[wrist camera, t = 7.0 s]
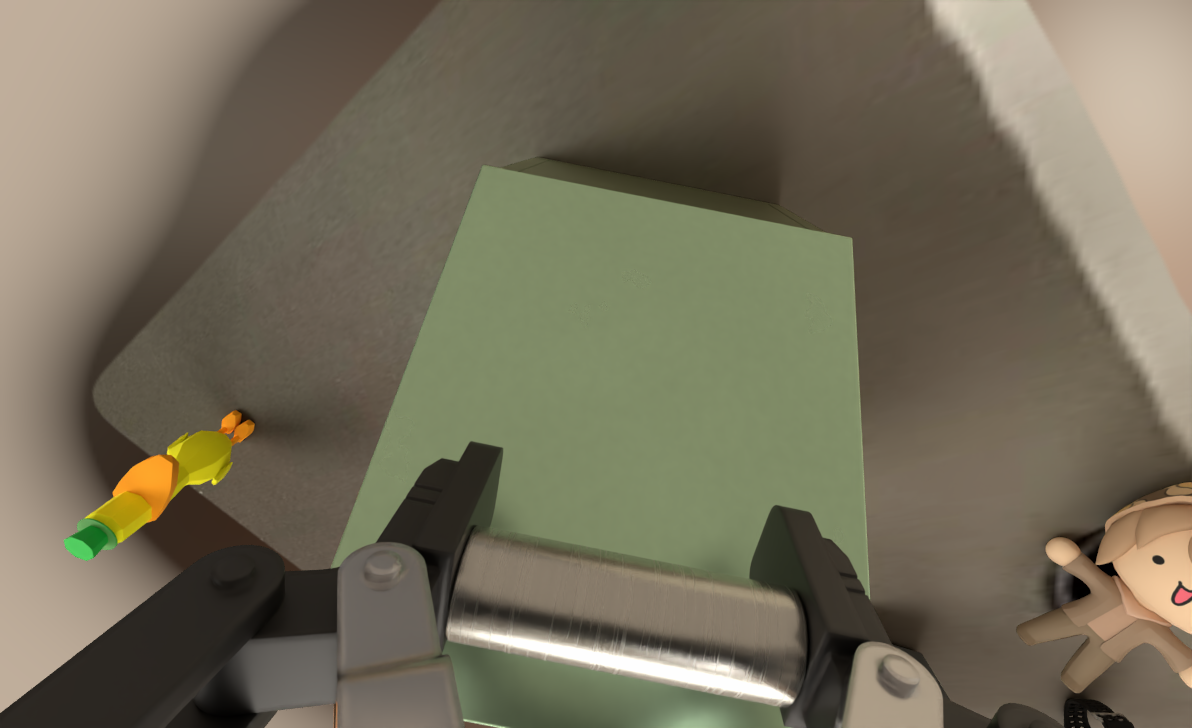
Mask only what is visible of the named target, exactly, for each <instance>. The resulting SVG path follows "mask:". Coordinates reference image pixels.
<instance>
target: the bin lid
mask: <svg viewBox="0 0 1192 728" xmlns="http://www.w3.org/2000/svg"><path fill="white" fill-rule="evenodd" d="M470 441H473V442H478V443H483V444H488V445H493V446H498V447H502V448H503V459H502V465H501V472H500V478H499V485H498V491H497V498H496V504H495V509H494V514H493V518H492V522H491V526H490V527H486V526H481V525H477V526H475V527H474V528H473V529H472V531H471V533H470V535H469V537H468V539H467V541H466V544H465V547H464V549H463V552H462V555H461V558H460V561H459V564H458V568H457V571H456V575H455V578H454V582H453V586H452V590H451V595H450V599H449V604H448V610H447V616H446V624H445V636H446V640H447V641H446V644H445V647H444V649H443V652H442V655H445V654H448V655H449V656H450V658H451V660H452V664H453V668H454V673H455V679H456V684H457V689H458V694H459V700H460V705H461V710H462V715H463V721H466V722H471V723H476V724H481V725H486V726H491V727H496V728H791V727H786V726H784V723H783V719H782V715H781V711H780V707H781V708H786V707H789V706H791V705H792V704H793V703H794V702H795V701H796V699H797V697H798V696H799V693H800V691H801V688H802V685H803V682H804V678H805V673H806V667H807V659H808V629H807V621H806V615H805V611H804V607H803V604H802V601H801V599H800V597H799V595H798V594H797V592H796V591H795V590H793V589H792V588H790V587H788V586H783V585H778V584H773V583H768V582H763V581H758V580H753V579H749V573H750V566H751V561H752V558H753V555H754V552H755V550H756V547H757V544H758V542H759V539H760V536H761V534H762V531H763V528H764V526H765V523H766V520H767V518H768V515H769V513H770V511H771V509H772V507H773V506H775V505H779V506H784V507H789V508H794V509H798V510H803V511H808V512H810V513H811V514H812V516H813V518H814V520H815V522H816V524H817V526H818V529H819V531H820V533H821V535H822V537H823V538H827V539H831V540H832V541H833V542H834V543H835V544H836V545H837V546H838V547H839V548H840V549H841V550H842V551H843V552H844V553H845V554H846V555H847V556H848V558H849V560H850V562H851V564H852V566H853V568H854V570H855V572H856V574H857V579H859V580H860V582H861V584H862V586H863V588H864V589H865V595H868V597H869V599H870V586H869V566H868V546H867V526H866V506H865V485H864V465H863V445H862V425H861V405H860V385H859V364H858V344H857V324H856V304H855V284H854V263H853V243H852V238H850V237H845V236H840V235H835V234H830V233H825V232H820V231H815V230H810V229H805V228H800V227H795V226H790V225H785V224H780V223H775V222H770V221H765V220H760V219H755V218H750V217H745V216H740V215H735V214H730V213H725V212H720V211H715V210H710V209H705V208H700V207H694V206H689V205H684V204H679V203H674V202H669V201H664V200H659V199H654V198H649V197H644V196H639V195H634V194H629V193H624V192H619V191H614V190H609V189H604V188H599V187H594V186H589V185H584V184H579V183H574V182H569V181H564V180H559V179H554V178H549V177H544V176H539V175H533V174H528V173H523V172H518V171H513V170H508V169H503V168H498V167H493V166H488V165H482V167H481V170H480V173H479V175H478V178H477V181H476V183H475V186H474V188H473V191H472V194H471V196H470V199H469V202H468V204H467V207H466V210H465V212H464V215H463V218H462V220H461V223H460V226H459V228H458V231H457V234H456V236H455V239H454V242H453V244H452V247H451V250H450V252H449V255H448V258H447V260H446V263H445V265H444V268H443V271H442V273H441V276H440V279H439V281H438V284H437V287H436V289H435V292H434V295H433V297H432V300H431V303H430V305H429V308H428V311H427V313H426V316H425V319H424V321H423V324H422V327H421V329H420V332H419V335H418V337H417V340H416V343H415V345H414V348H413V350H412V353H411V356H410V358H409V361H408V364H407V366H406V369H405V372H404V374H403V377H402V380H401V382H400V385H399V388H398V390H397V393H396V396H395V398H394V401H393V404H392V406H391V409H390V412H389V414H388V417H387V420H386V422H385V425H384V427H383V430H382V433H381V435H380V438H379V441H378V443H377V446H376V449H375V451H374V454H373V457H372V459H371V462H370V465H369V467H368V470H367V473H366V475H365V478H364V481H363V483H362V486H361V489H360V491H359V494H358V497H357V499H356V502H355V505H354V507H353V510H352V512H351V515H350V518H349V520H348V523H347V526H346V528H345V531H344V534H343V536H342V539H341V542H340V544H339V547H338V550H337V552H336V555H335V558H334V560H333V563H332V566H331V568H336V567H340V565H341V564H342V562H343V561H344V559H345V558H346V557H347V556H348V555H350V554H351V553H352V552H354V551H356V550H357V549H359V548H361V547H364V546H366V545H370V544H373V543H376V541H377V540H378V538H379V537H380V535H381V534H382V532H383V531H384V529H385V528H386V526H387V525H388V523H389V522H390V520H391V518H392V517H393V515H394V514H395V512H396V511H397V509H398V508H399V506H400V505H401V503H402V502H403V500H404V499H406V496H407V494H408V493H409V491H410V489H411V488H412V486H413V487H414V483H415V482H416V480H417V479H418V477H419V476H420V474H421V473H422V471H423V470H424V469H425V468H426V467H428V466H429V465H431V464H433V463H434V462H436V461H438V460H439V459H441V458H444V459H449V460H454V461H459V460H460V458H461V457H462V455H463V453H464V451H465V449H466V448H467V446H468V444H469V443H470ZM331 568H330V569H331Z"/></svg>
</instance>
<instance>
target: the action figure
mask: <svg viewBox="0 0 1192 728" xmlns="http://www.w3.org/2000/svg"><path fill="white" fill-rule="evenodd" d="M1105 531H1106V533H1105V535H1104V537H1103V539H1102V541H1101V544H1100V547H1099V550H1098V555H1097V559H1096V565H1101V564H1106V563H1109V562H1111V561H1112V562H1113V565H1114V568H1115V570H1116V571H1117V573H1118V574H1119V576H1120V578H1121V579H1122V580H1121V579H1120V578H1119V577H1117V576H1112V577H1110V576H1109V575H1107V574H1105V573H1104V572H1103V571H1101V570H1100V569H1099V568H1098V567H1097V566H1096V565H1095V564H1094V563H1093V562H1092V561H1091V560H1090V559H1089V558H1088V557H1087V556H1086V555H1084V554H1083V553H1081V551H1080V549H1079V547H1078V546H1077V545H1076V544H1075V543H1074V542H1073V541H1071V540H1069V539H1067V538H1063V537H1057V538H1053V539H1051V540H1050V541H1049V542H1048V543H1047V545H1046V553H1047V555H1048V557H1049V558H1050V559H1051V560H1052V561H1054V562H1055V563H1057V564H1059V565H1061V566H1064V567H1063V568H1062V569H1064V570H1065V571H1067V572H1068V573H1070V574H1072V575H1074V576H1076V577H1078V578H1079V579H1081V580H1082V581H1083V582H1084V583H1086V584H1087V586H1088V587H1089V588H1090V590H1091V593H1090V594H1089V595H1087V596H1085V597H1083V598H1081V599H1079V600H1076V601H1072V602H1069V603H1066V604H1063V605H1062V607H1061V608H1058V609H1055V610H1053V611H1050V612H1048V613H1045V614H1043V615H1041V616H1039V617H1036V618H1034V619H1032V620H1029V621H1027V622H1024V623H1022V624H1020V625H1018V626H1017V629H1016V632H1017V634H1018V635H1019V637H1020V638H1021V639H1022V640H1023V641H1024V642H1025V643H1026V644H1027V645H1029V646H1031V645H1035V644H1039V643H1043V642H1048V641H1053V640H1058V639H1063V638H1068V637H1072V636H1076V635H1082V634H1084V635H1087V636H1088V638H1087V639H1086V641H1085V642H1084V643H1083V644H1082V645H1081V647H1080V648H1079V649H1078V650H1077V651H1076V653H1075V654H1074V655H1073V656H1072V658H1071V659H1070V660H1069V662H1068V663H1067V664H1066V666H1065V667H1064V669H1063V671H1062V673H1061V680H1062V682H1063V683H1064V684H1065V685H1066V686H1067V687H1068V688H1069V689H1070V690H1072V691H1073V692H1075V693H1080V692H1082V691H1083V690H1084V689H1085V688H1086V687H1087V686H1088V685H1089V684H1090V683H1091V682H1093V681H1094V680H1095V679H1096V678H1097V677H1099V676H1100V675H1101V674H1102V673H1103V672H1104V671H1106V670H1107V669H1108V668H1109V667H1110V666H1111V665H1112V664H1113V663H1114V662H1115V661H1116V662H1119V663H1120V662H1121V660H1122V659H1123V658H1124V657H1125V655H1126V654H1127V653H1128V652H1129V651H1130V650H1132V649H1133V648H1135V647H1137V646H1139V645H1141V644H1143V643H1150V644H1151V645H1153V646H1154V647H1155V648H1157V649H1158V650H1159V651H1160V652H1161V654H1162V655H1163V656H1164V658H1165V659H1166V661H1167V662H1168V664H1169V665H1170V667H1171V668H1172V670H1173V671H1174V672H1175V673H1179V675H1180V677H1181V679H1182V680H1183V681H1184V682H1185V683H1186V684H1187V685H1188V686H1189V687H1190V688H1192V650H1191V649H1190V648H1189V647H1187V646H1186V645H1185V644H1184V643H1183V642H1181V641H1180V640H1179V639H1178V638H1177V637H1176V636H1175V635H1174V634H1173V633H1172V631H1171V630H1170V629H1169V628H1170V627H1171V626H1172V624H1173V625H1175V626H1177V627H1178V628H1180V629H1182V630H1184V631H1186V632H1188V633H1189V634H1192V482H1187V483H1181V484H1177V485H1173V486H1170V487H1167V488H1164V489H1161V490H1159V491H1156V492H1153V493H1151V494H1148V495H1145V496H1143V497H1142V498H1140V499H1138V500H1136V501H1134V502H1133V503H1131V504H1129V505H1128V506H1126V507H1124V508H1123V509H1121V510H1120V511H1119V512H1117V513H1116V514H1115V515H1113V516H1112V517H1111V518H1109V519H1108V520H1107V521H1106V524H1105Z"/></svg>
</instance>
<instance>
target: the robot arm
mask: <svg viewBox="0 0 1192 728" xmlns="http://www.w3.org/2000/svg"><path fill="white" fill-rule="evenodd" d="M502 459H503V448H502V447H498V446H493V445H488V444H483V443H478V442H473V441H470V443H469V444H468V446H467V448H466V449H465V451H464V453H463V455H462V457H461V458H460V460H459V461H454V460H449V459H444V458H441V459H439V460H438V461H436V462H434V463H433V464H431V465H429V466H428V467H426V468H425V469H424V470H423V471H422V473H421V474H420V476H419V477H418V479H417V480H416V482H415V483H414V487H413V486H412V488H411V489H410V491H409V493H408V494H407V496H406V499H404V500H403V502H402V503H401V505H400V506H399V508H398V509H397V511H396V512H395V514H394V515H393V517H392V518H391V520H390V522H389V523H388V525H387V526H386V528H385V529H384V531H383V532H382V534H381V535H380V537H379V538H378V540H377V541H376V543H373V544H370V545H366V546H364V547H361V548H359V549H357V550H356V551H354V552H352V553H351V554H350V555H348V556H347V557H346V558H345V559H344V561H343V562H342V564H341V565H340V567H336V568H331V569H324V570H307V571H285V566H284V562H283V560H282V558H281V557H280V556H279V555H278V553H276V552H275V551H273V550H271V549H269V548H266V547H262V546H254V545H240V546H233V547H228V548H224V549H221V550H218V551H215V552H213V553H210V554H208V555H207V556H204V557H202V558H201V559H199V560H198V561H196V562H195V563H194V564H192V565H191V566H190V567H189V568H187V569H186V570H184V571H183V572H182V573H181V574H179V575H178V576H177V577H175V578H174V579H173V580H172V581H170V582H169V583H168V584H167V585H165V586H164V587H163V588H161V589H160V590H159V591H157V592H156V593H155V594H154V595H152V596H151V597H150V598H148V599H147V600H146V601H145V602H143V603H142V604H141V605H139V606H138V607H137V608H136V609H134V610H133V611H132V612H130V613H129V614H128V615H126V616H125V617H124V618H123V619H121V620H120V621H119V622H117V623H116V624H115V625H114V626H112V627H111V628H110V629H108V630H107V631H106V632H105V633H103V634H102V635H101V636H99V637H98V638H97V639H96V640H94V641H93V642H92V643H90V644H89V645H88V646H86V647H85V648H84V649H83V650H81V651H80V652H79V653H77V654H76V655H75V656H73V657H72V658H71V659H70V660H68V661H67V662H66V663H65V664H63V665H62V666H61V667H59V668H58V669H57V670H56V671H54V672H53V673H52V674H50V675H49V676H48V677H46V678H45V679H44V680H43V681H41V682H40V683H39V684H37V685H36V686H35V687H33V688H32V689H31V690H30V691H28V692H27V693H26V694H24V695H23V696H22V697H21V698H19V699H18V700H17V701H15V702H14V703H13V704H12V705H10V706H9V707H8V708H6V709H5V710H4V711H2V712H1V713H0V728H264V727H265V726H266V725H267V724H268V722H269V721H270V720H271V718H272V717H273V716H274V715H275V714H276V712H277V711H278V710H285V709H293V708H303V707H311V706H320V705H328V704H334V728H465V726H464V721H463V715H462V710H461V705H460V700H459V694H458V689H457V684H456V679H455V673H454V668H453V664H452V660H451V658H450V656H449V655H448V654H445V655H442V652H443V649H444V647H445V644H446V641H447V640H446V636H445V624H446V616H447V610H448V604H449V599H450V595H451V590H452V586H453V582H454V578H455V575H456V571H457V568H458V564H459V561H460V558H461V555H462V552H463V549H464V547H465V544H466V541H467V539H468V537H469V535H470V533H471V531H472V529H473V528H474V527H475V526H477V525H481V526H486V527H490V526H491V522H492V518H493V514H494V509H495V504H496V498H497V491H498V485H499V478H500V472H501V465H502ZM749 579H753V580H758V581H763V582H768V583H773V584H778V585H783V586H788V587H790V588H792V589H793V590H795V591H796V592H797V594H798V595H799V597H800V599H801V601H802V604H803V607H804V611H805V615H806V621H807V629H808V659H807V667H806V673H805V678H804V682H803V685H802V688H801V691H800V693H799V696H798V697H797V699H796V701H795V702H794V703H793V704H792V705H791V706H789V707H786V708H781V707H780V711H781V715H782V719H783V723H784V726H786V727H791V728H1065V727H1064V726H1062V725H1061V724H1059V723H1058V722H1057V721H1055V720H1054V719H1052V718H1051V717H1049V716H1047V715H1046V714H1044V713H1042V712H1040V711H1038V710H1036V709H1033V708H1031V707H1028V706H1025V705H1022V704H1016V703H1008V704H1004V705H1003V706H1001V707H1000V708H999V710H998V711H997V713H996V714H995V716H994V717H993V719H992V720H991V719H988V718H986V717H984V716H982V715H980V714H978V713H975V712H973V711H971V710H969V709H967V708H965V707H962V706H960V705H958V704H956V703H954V702H952V701H949V700H948V699H946V698H944V697H942V693H941V690H940V688H939V686H938V684H937V682H936V681H935V679H934V678H933V676H932V675H931V674H930V673H929V671H928V670H927V669H926V668H925V667H924V666H923V665H922V664H921V663H919V662H918V661H917V660H916V659H914V658H913V657H912V656H910V655H909V654H907V653H906V652H904V651H902V650H900V649H898V648H896V647H894V646H893V645H892V643H891V641H890V639H889V637H888V635H887V633H886V631H885V629H884V627H883V625H882V623H881V621H880V619H879V617H878V615H877V613H876V611H875V609H874V607H873V605H872V603H871V601H870V599H869V597H868V595H865V589H864V588H863V586H862V584H861V582H860V580H859V579H857V574H856V572H855V570H854V568H853V566H852V564H851V562H850V560H849V558H848V556H847V555H846V554H845V553H844V552H843V551H842V550H841V549H840V548H839V547H838V546H837V545H836V544H835V543H834V542H833V541H832V540H831V539H827V538H823V537H822V535H821V533H820V531H819V529H818V526H817V524H816V522H815V520H814V518H813V516H812V514H811V513H810V512H808V511H803V510H798V509H794V508H789V507H784V506H779V505H775V506H773V507H772V509H771V511H770V513H769V515H768V518H767V520H766V523H765V526H764V528H763V531H762V534H761V536H760V539H759V542H758V544H757V547H756V550H755V552H754V555H753V558H752V561H751V566H750V573H749Z"/></svg>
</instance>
